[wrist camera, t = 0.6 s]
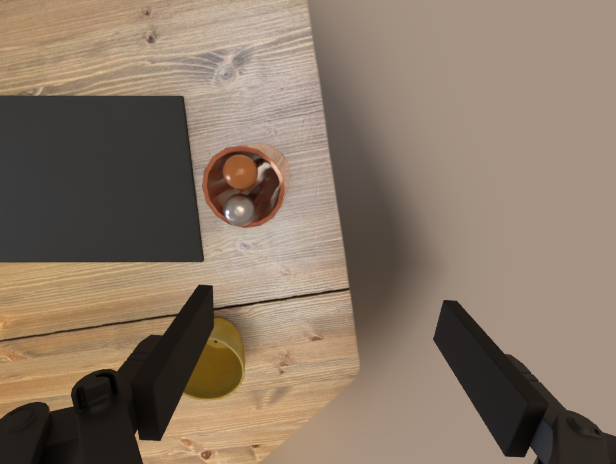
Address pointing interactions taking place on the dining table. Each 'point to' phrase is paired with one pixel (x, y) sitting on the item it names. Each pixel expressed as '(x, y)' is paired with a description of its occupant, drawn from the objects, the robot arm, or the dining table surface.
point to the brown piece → (241, 171)
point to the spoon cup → (269, 177)
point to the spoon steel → (241, 207)
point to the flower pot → (218, 364)
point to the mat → (96, 180)
